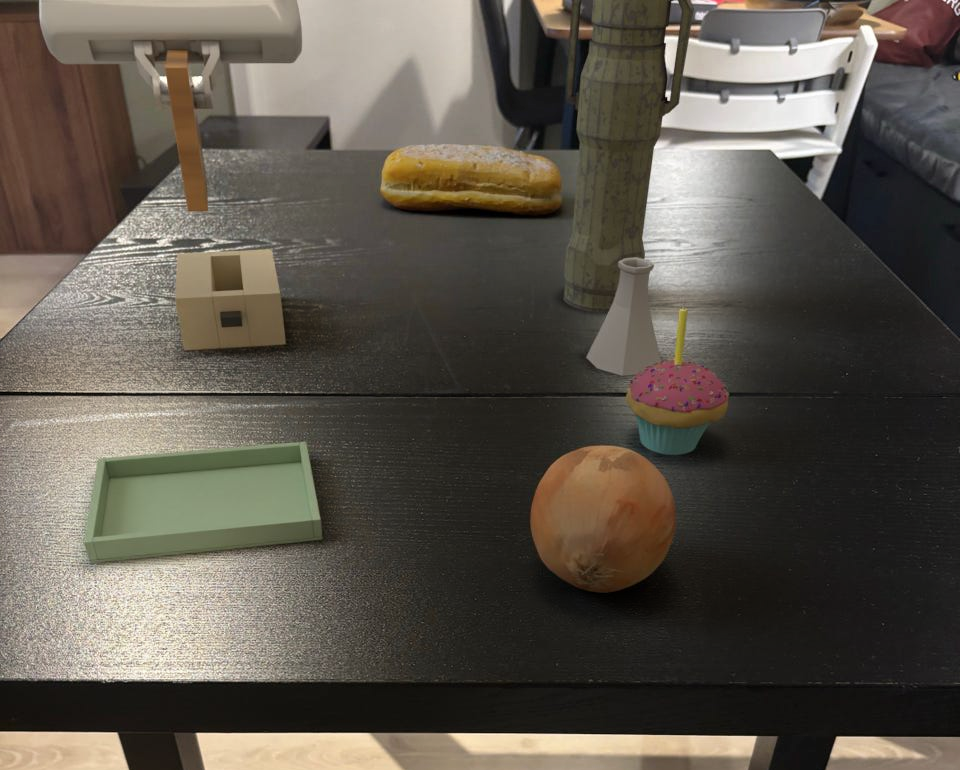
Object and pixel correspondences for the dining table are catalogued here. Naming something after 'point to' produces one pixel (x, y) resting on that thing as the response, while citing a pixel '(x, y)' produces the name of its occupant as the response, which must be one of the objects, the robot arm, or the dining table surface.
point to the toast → (186, 129)
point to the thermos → (617, 137)
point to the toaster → (228, 300)
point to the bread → (470, 179)
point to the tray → (201, 502)
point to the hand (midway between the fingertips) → (184, 104)
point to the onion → (603, 518)
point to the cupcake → (676, 400)
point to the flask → (627, 324)
